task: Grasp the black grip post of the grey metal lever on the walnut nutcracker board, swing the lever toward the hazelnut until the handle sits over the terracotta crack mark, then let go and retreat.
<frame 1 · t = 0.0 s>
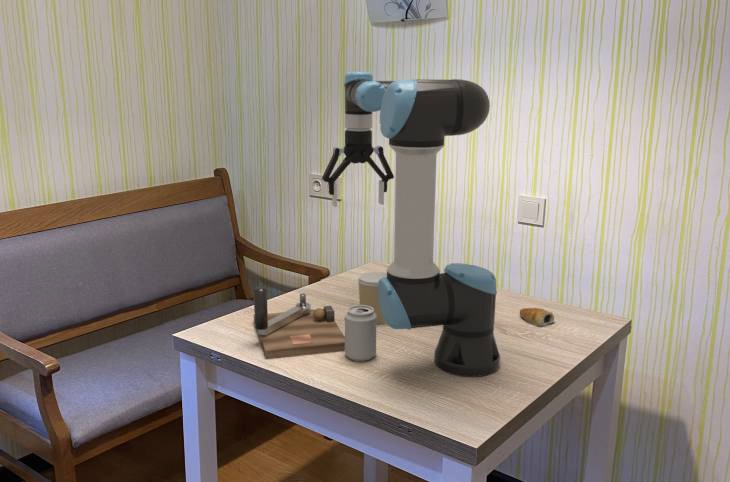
hand: (358, 204, 201), 28 cm above the table, fingers open, 13 cm apart
nutcracker board: (298, 335, 181), on the table
lever: (283, 300, 182), point 8 cm above the table, hinge at -45.0°
can: (360, 356, 169), on the table
coffee cup: (375, 319, 193), on the table
pastry: (536, 322, 192), on the table
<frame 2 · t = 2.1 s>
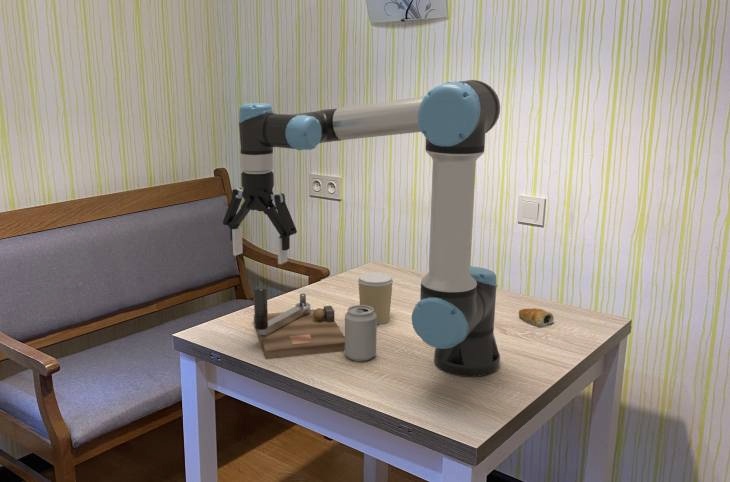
hand: (260, 258, 171), 22 cm above the table, fingers open, 13 cm apart
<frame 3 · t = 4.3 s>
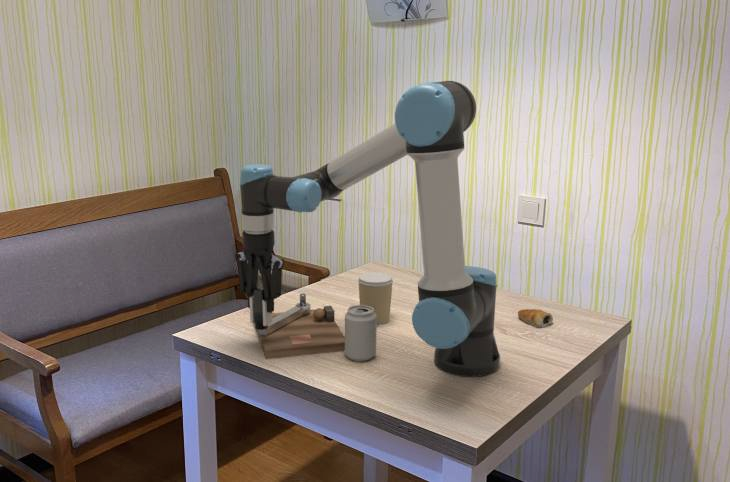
hand: (261, 322, 175), 6 cm above the table, fingers closed on lever, 3 cm apart
lever: (283, 300, 182), point 8 cm above the table, hinge at -45.0°, touching gripper
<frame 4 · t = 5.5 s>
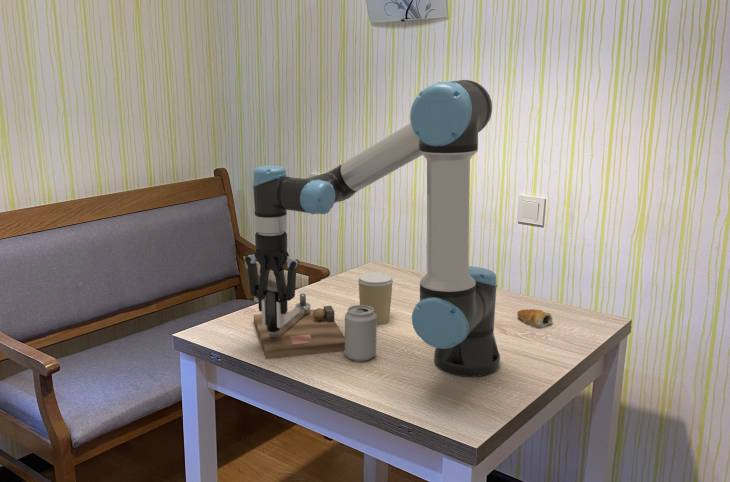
hand: (273, 324, 173), 6 cm above the table, fingers closed on lever, 3 cm apart
lever: (288, 301, 181), point 8 cm above the table, hinge at -34.1°, touching gripper
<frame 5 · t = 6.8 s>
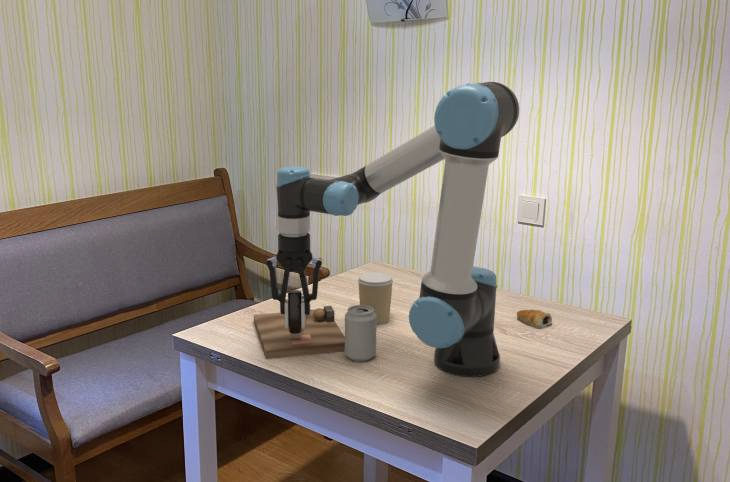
hand: (295, 326, 173), 6 cm above the table, fingers closed on lever, 3 cm apart
lever: (299, 302, 181), point 8 cm above the table, hinge at -16.3°, touching gripper
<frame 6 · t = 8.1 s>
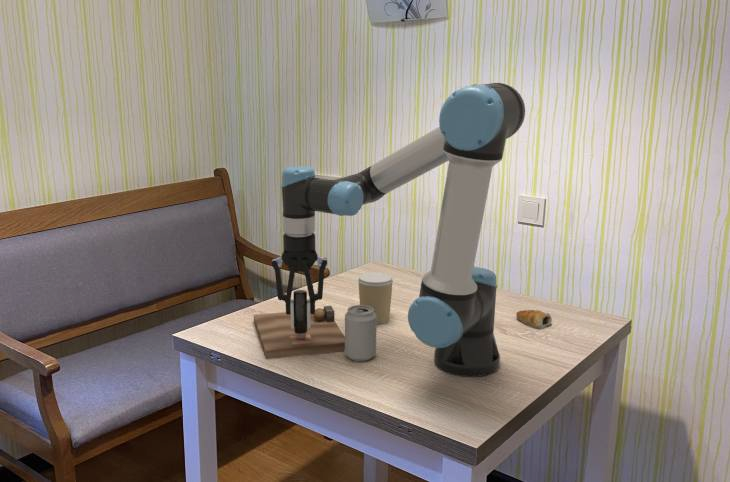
hand: (300, 326, 173), 6 cm above the table, fingers closed on lever, 3 cm apart
lever: (301, 302, 181), point 8 cm above the table, hinge at -12.2°, touching gripper
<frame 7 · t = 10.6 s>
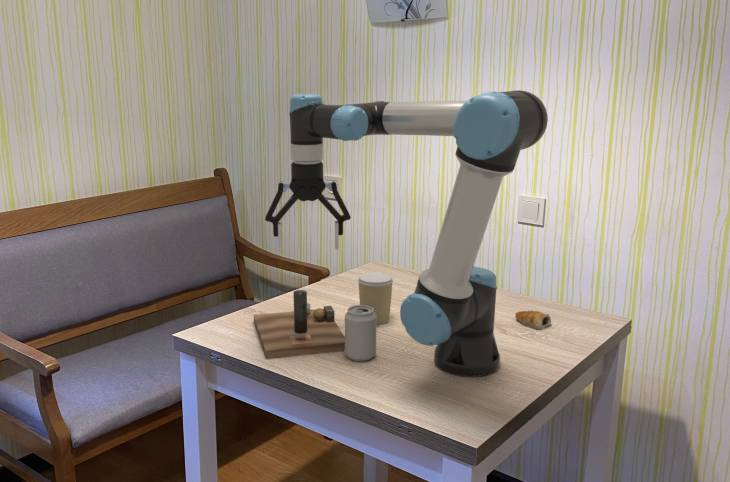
hand: (308, 248, 172), 24 cm above the table, fingers open, 13 cm apart
lever: (301, 302, 181), point 8 cm above the table, hinge at -12.2°
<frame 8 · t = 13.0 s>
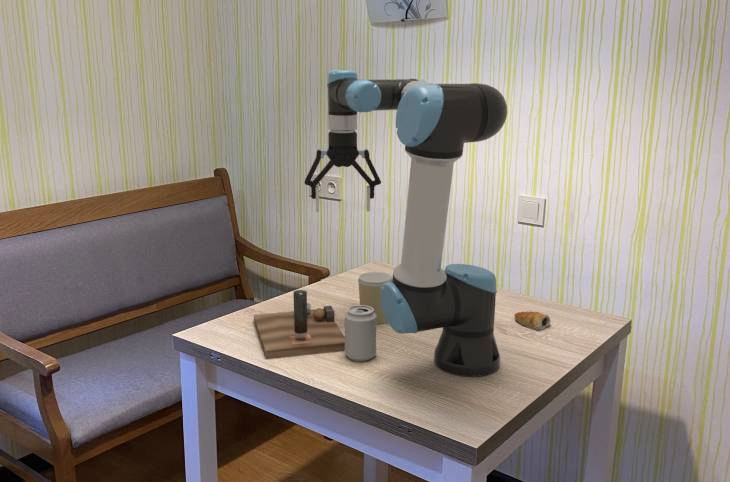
hand: (342, 210, 191), 29 cm above the table, fingers open, 13 cm apart
at the end: lever at -12° (first picture: -45°); the gripper is holding nothing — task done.
